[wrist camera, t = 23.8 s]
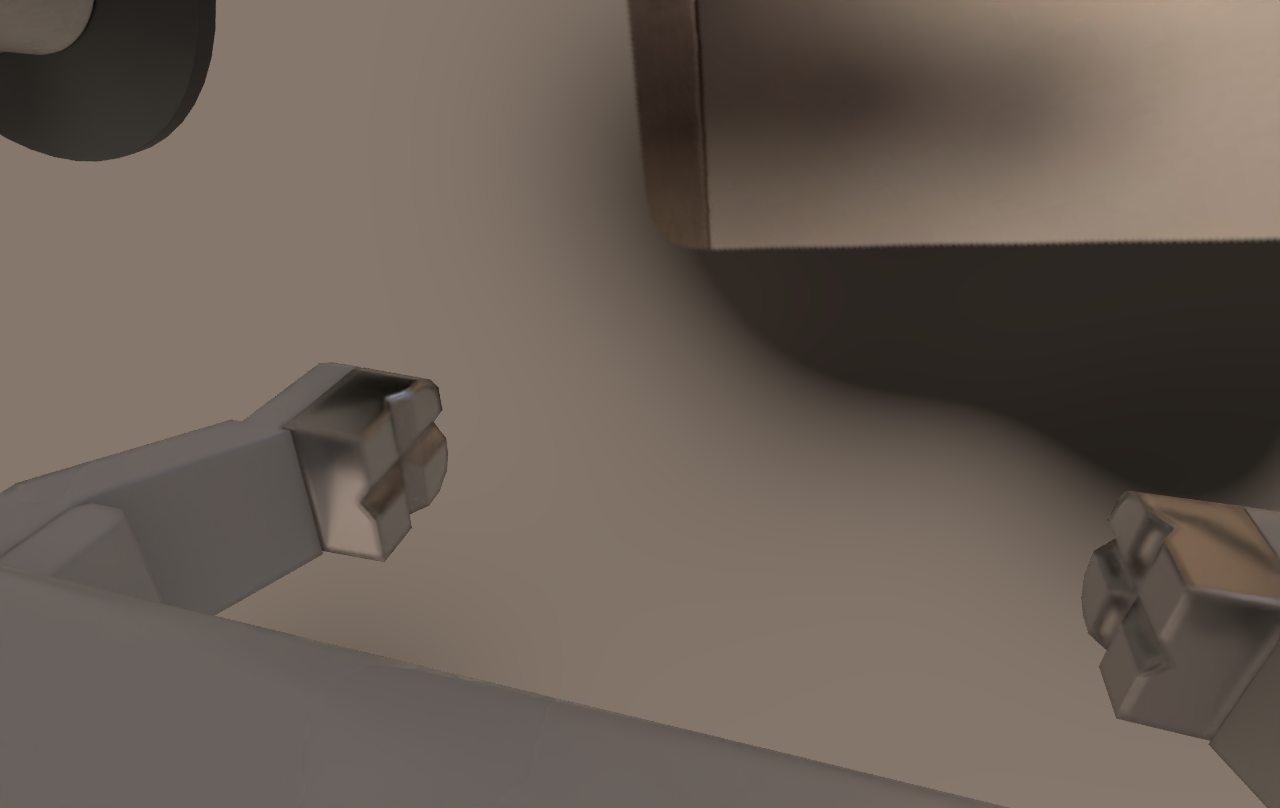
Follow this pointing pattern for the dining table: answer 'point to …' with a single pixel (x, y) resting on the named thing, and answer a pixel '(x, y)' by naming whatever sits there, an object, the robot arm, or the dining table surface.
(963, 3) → the dining table surface
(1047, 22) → the dining table surface
